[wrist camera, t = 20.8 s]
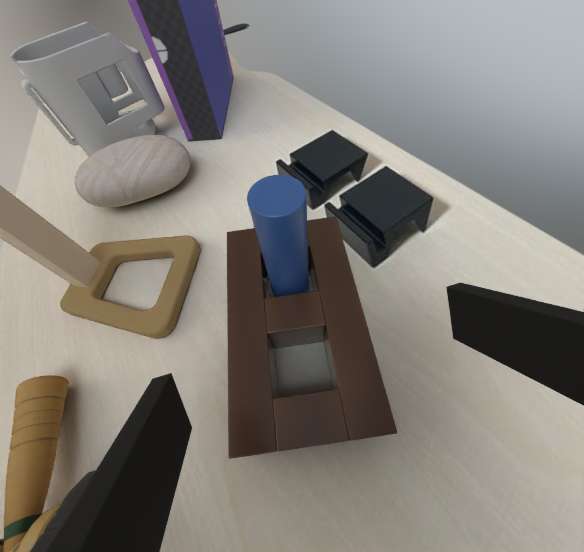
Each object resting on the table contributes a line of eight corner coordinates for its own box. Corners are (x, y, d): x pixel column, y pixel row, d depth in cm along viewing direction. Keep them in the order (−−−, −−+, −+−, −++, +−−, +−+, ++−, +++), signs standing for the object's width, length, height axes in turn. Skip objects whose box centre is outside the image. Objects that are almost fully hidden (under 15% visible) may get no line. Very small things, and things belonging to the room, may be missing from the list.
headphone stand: (171, 340, 23) (-464, -69, 4) (57, 330, 24) (-827, -23, 5) (203, 243, 28) (-16, -137, 9) (108, 238, 30) (-255, -106, 11)
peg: (275, 312, 24) (248, 221, 14) (272, 281, 26) (245, 178, 15) (311, 307, 24) (310, 212, 14) (305, 276, 26) (301, 170, 15)
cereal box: (206, 80, 47) (122, -201, 26) (233, 77, 46) (169, -208, 26) (188, 141, 38) (38, -209, 17) (221, 138, 38) (109, -220, 17)
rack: (243, 454, 19) (228, 458, 15) (237, 257, 27) (226, 232, 24) (382, 433, 19) (397, 433, 15) (333, 243, 27) (335, 216, 24)
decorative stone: (191, 152, 37) (174, 115, 32) (203, 195, 32) (187, 158, 28) (94, 180, 35) (64, 145, 31) (94, 229, 30) (58, 196, 26)
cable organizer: (178, 132, 39) (130, 24, 29) (100, 177, 35) (11, 71, 25) (154, 117, 42) (102, 13, 31) (79, 157, 38) (-10, 53, 27)
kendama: (12, 420, 22) (-77, 853, 11) (-60, 394, 17) (-332, 1096, 7) (117, 382, 24) (125, 711, 14) (79, 350, 20) (44, 815, 9)
